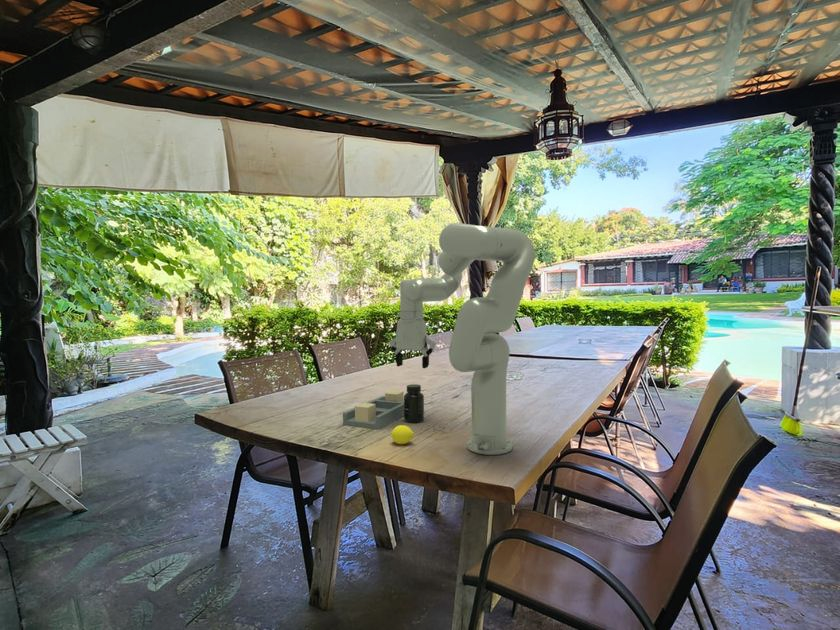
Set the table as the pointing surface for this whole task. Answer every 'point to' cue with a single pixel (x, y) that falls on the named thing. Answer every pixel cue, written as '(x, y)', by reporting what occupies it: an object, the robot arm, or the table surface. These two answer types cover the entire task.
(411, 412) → the supplement bottle
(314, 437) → the table surface
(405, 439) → the lemon
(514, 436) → the table surface
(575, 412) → the table surface
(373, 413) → the rail rack
